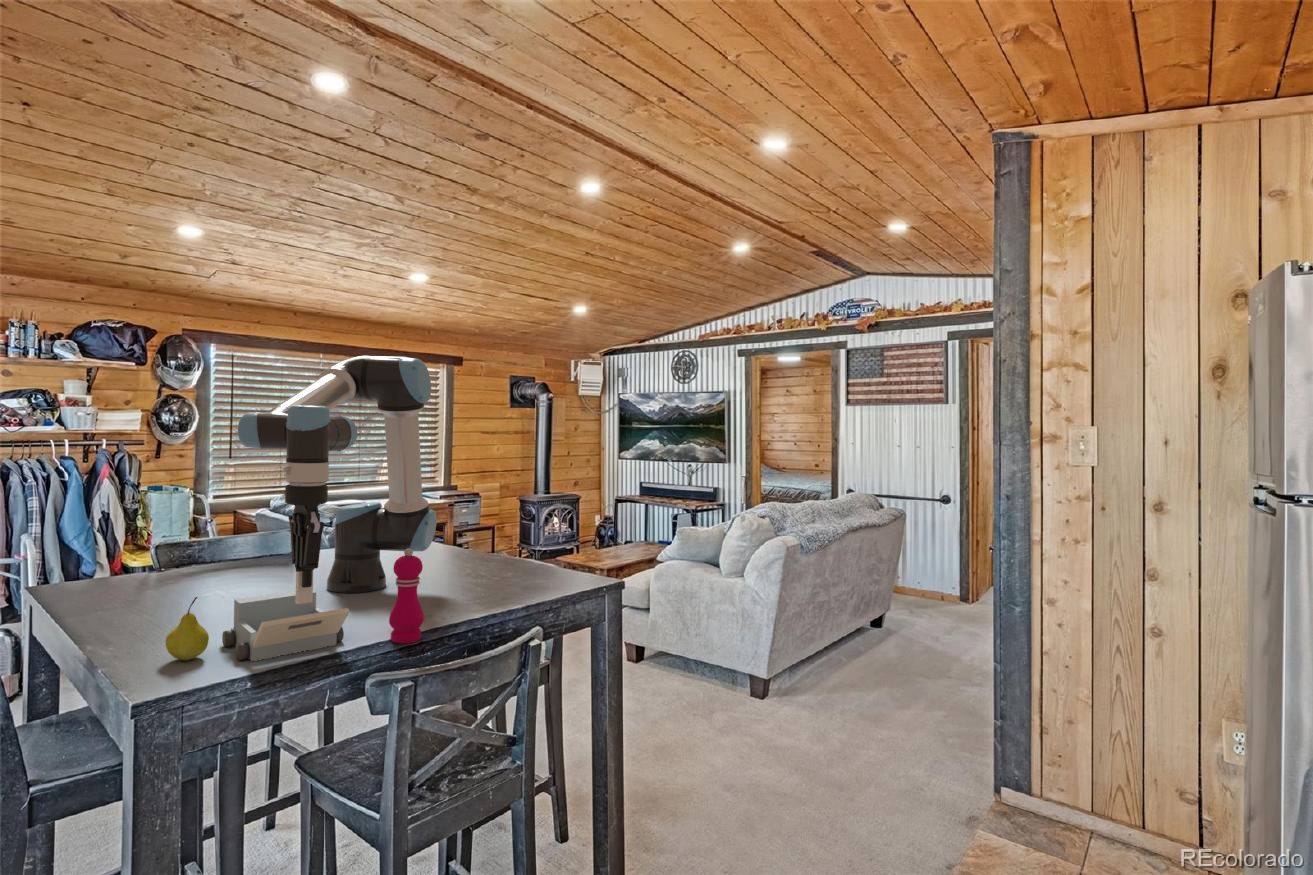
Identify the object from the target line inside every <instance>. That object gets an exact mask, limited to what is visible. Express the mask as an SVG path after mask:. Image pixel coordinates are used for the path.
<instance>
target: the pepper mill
mask: <svg viewBox="0 0 1313 875" xmlns="http://www.w3.org/2000/svg"><path fill="white" fill-rule="evenodd" d="M403 552H404V553H403V554H404V555H402V556H400V557H398V558H397V559H396V560H395V562H394V564H393V567H392V568H393V573H394V574H395V576H396V578H395V586H397V597H396V601H395V602H394V605H393V606H392V608H391V612H390V614H389V619H388V624H389V625H390V627H391V628H392V629H393V630H391V632H390V641H391V642H393V643H397V644H411V643H416V642H418V641H420V640H421V638H422V629H421V628H420V627H421V626H422V625H423V623H424V622H425V614H424V610H423V607H422V604H420V600H419V597H418V596H419V595H418V585H420V583H421V582H420V580H421V578H420V575H421V573H422V571H423V562H422V560H421V558H419V556H415V555H414V551H412V549H410V548H408V549H406V550H405V551H403Z"/></svg>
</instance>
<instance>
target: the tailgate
mask: <svg viewBox="0 0 1313 875" xmlns="http://www.w3.org/2000/svg"><path fill="white" fill-rule="evenodd" d="M349 614H350V610H349V607H346V608H341V609H340V608H339V609H334V610H327V611H324V612H320V613H314V614H308V615H302V616H296V617H290V618H284V619H278V620H272V621H265V622H262V623H261V625H260V627H259V629H258V632H257V634H256V636H255V639H254V641H253V643H252V645H253V648H257V647H262V646H268V645H273V644H278V643H284V642H289V641H295V640H300V639H305V638H311V637H316V636H321V635H327V634H332V633H337V632H339V630H340V628H341V626H342V627H343V624H344V622H346V619H347V618H348V616H349Z"/></svg>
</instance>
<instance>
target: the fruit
mask: <svg viewBox="0 0 1313 875" xmlns="http://www.w3.org/2000/svg"><path fill="white" fill-rule="evenodd" d="M197 599H198V596H195V598H194V599H193V600H192V602H191V603H190V605H189V607H188V610H187V613H185V614H184V615H183V616H182V617H181V619H180V621H179V623H178V624H177V626H176V627H174V628H173V629H172V630H171V631H170V632H169V633H168V634H167V636H166V638H165V641H164V642H165V646H166V650H167V652H168V654H169V655H171V657H173V658H174V659H177V660H179V661H191V660H194V659H196V658H197V657H198V656H200V655H202V654H203V653H204V652H205V651H206V650H207V648H208V645H209V637H210V636H209V633H208V631H207V630H206V629H205V628H204V626H202V625H201V624H200V623H199V620H197V617H196V615H195V614H194V613H190V611H191V607H192V606H193V605H194V604H195V602H196V600H197Z"/></svg>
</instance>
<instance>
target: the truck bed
mask: <svg viewBox="0 0 1313 875" xmlns="http://www.w3.org/2000/svg"><path fill="white" fill-rule="evenodd" d="M295 599H296V590H291V591H283V592H277V593H269V594H262V595H256V596H249V597H247V596H246V597H240V598H235V599H234V602H233V603H234V604H233V607H234V608H233V627H231V628H230V629H229V630H225V631H223V632H222V634H221V635H222V636H221V639H222V645H223V648H227V647H233V646H235V656H236V658H235V659H236V660H237V661H239V662H240V661H245V660H249V659H250V660H251V661H250V660H249V661H250V662H251V663H253V662H252V661H254V662H258V661H257V660H259V661H263V660H262V659H264V660H268V659H273V658H272V657H274V658H277V657H276V656H279V655H284V656H287V654H289V655H292V654H291V653H294V654H298V653H297V652H299V653H302V652H301V651H304V652H307V651H306V650H309V651H313V650H318V649H319V650H320V649H324V648H328V647H327V646H329V647H333V646H337V642H341V641H343V639H344V637H345V636H344V628H343V625H342V626H341V628H340V630H339V632H337V633H332V634H327V635H321V636H316V637H311V638H305V639H300V640H295V641H289V642H284V643H278V644H273V645H268V646H262V647H257V648H253V645H252V643H253V641H254V639H255V636H256V634H257V632H258V629H259V627H260V625H261V623H262V622H265V621H272V620H278V619H284V618H290V617H296V616H302V615H308V614H314V613H320V612H325V611H324V610H323V609H321V608H320V607H317V592H316V591H315V590H313V602H310V603H303V604H297V603H295ZM323 647H324V648H323ZM279 657H280V656H279Z"/></svg>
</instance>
